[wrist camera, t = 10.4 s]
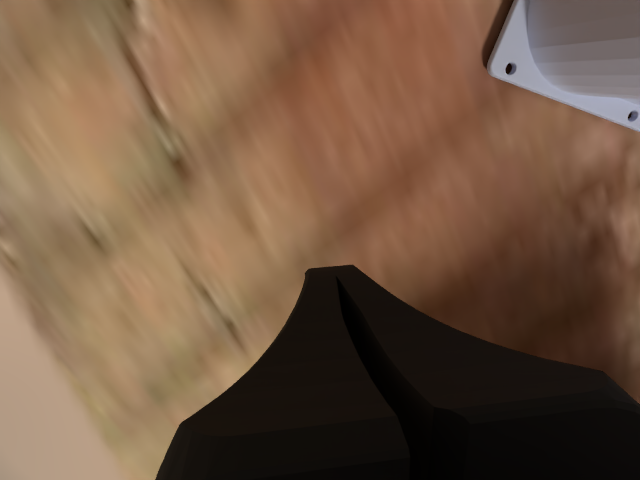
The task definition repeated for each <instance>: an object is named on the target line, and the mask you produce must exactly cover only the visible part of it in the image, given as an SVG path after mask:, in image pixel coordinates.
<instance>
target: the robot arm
mask: <svg viewBox="0 0 640 480" xmlns="http://www.w3.org/2000/svg"><path fill="white" fill-rule="evenodd" d="M509 63H510V64H511V66H512V70H511V72H510V73H509V74H507V73H506V71H505V69H506V66H507V65H508V64H509ZM487 71H488V73H489V75H491V76H492V77H495V78H497V79H500V80H503V81H505V82H508V83H511V84H513V85H516V86H519V87H521V88H524V89H527V90H529V91H532V92H535V93H537V94H540V95H542V96H545V97H548V98H550V99H553V100H556V101H558V102H561V103H564V104H566V105H569V106H572V107H574V108H577V109H579V110H582V111H585V112H587V113H590V114H593V115H595V116H598V117H601V118H603V119H606V120H609V121H611V122H614V123H617V124H619V125H622V126H624V127H627V128H630V129H632V130H635V131H638V132H640V0H514V1H513V4H512V6H511V8H510V11H509V13H508V15H507V18H506V20H505V23H504V25H503V27H502V30H501V32H500V34H499V37H498V39H497V42H496V44H495V46H494V49H493V51H492V53H491V56H490V58H489V60H488V64H487ZM630 112H631V113H632V115H631V117H630V118H629V120H628V115H629V114H630ZM155 480H640V404H639V403H637V402H636V401H635V400H634V399H633V398H632V397H631V396H630V395H629V394H627V393H626V392H625V391H624V390H623V389H622V388H621V387H620V386H619V385H617V384H616V383H615V382H614V381H613V380H612V379H611V378H610V377H609V376H607V375H606V374H605V373H604V372H603V371H599V370H594V369H590V368H585V367H580V366H576V365H571V364H567V363H562V362H558V361H553V360H548V359H544V358H540V357H536V356H533V355H529V354H526V353H522V352H519V351H515V350H512V349H508V348H505V347H502V346H499V345H496V344H493V343H490V342H487V341H485V340H482V339H479V338H477V337H474V336H472V335H469V334H466V333H464V332H461V331H459V330H457V329H454V328H452V327H450V326H448V325H446V324H443V323H441V322H439V321H437V320H435V319H433V318H431V317H429V316H427V315H425V314H424V313H422V312H420V311H418V310H416V309H415V308H413V307H411V306H410V305H408V304H407V303H405V302H403V301H402V300H400V299H399V298H397V297H396V296H394V295H393V294H391V293H390V292H388V291H387V290H385V289H384V288H383V287H381V286H380V285H379V284H377V283H376V282H375V281H373V280H372V279H371V278H369V277H368V276H367V275H366V274H364V273H363V272H362V271H360V270H359V269H358V268H357V267H355V266H354V265H343V266H333V267H322V268H311V269H308V270H307V271H306V272H305V281H304V284H303V288H302V291H301V293H300V296H299V298H298V300H297V303H296V305H295V307H294V309H293V311H292V313H291V314H290V316H289V318H288V320H287V322H286V324H285V325H284V327H283V328H282V330H281V331H280V333H279V334H278V336H277V337H276V339H275V340H274V341H273V343H272V344H271V345H270V347H269V348H268V349H267V350H266V351H265V353H264V354H263V355H262V356H261V357H260V359H259V360H258V361H257V362H256V363H255V364H254V365H253V366H252V367H251V368H250V369H249V370H248V372H246V373H245V374H244V375H243V376H242V377H241V378H240V379H239V380H238V381H237V382H236V383H234V384H233V385H232V386H231V387H230V388H229V389H227V390H226V391H225V392H224V393H222V394H221V395H220V396H219V397H217V398H216V399H214V400H213V401H212V402H210V403H209V404H207V405H206V406H205V407H203V408H202V409H200V410H199V411H198V412H196V413H195V414H193V415H192V416H191V417H189V418H187V419H186V420H184V421H183V422H182V423H181V424H180V425H179V427H178V429H177V431H176V433H175V435H174V437H173V440H172V442H171V444H170V446H169V448H168V450H167V453H166V455H165V458H164V460H163V462H162V464H161V466H160V469H159V471H158V474H157V477H156V479H155Z"/></svg>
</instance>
